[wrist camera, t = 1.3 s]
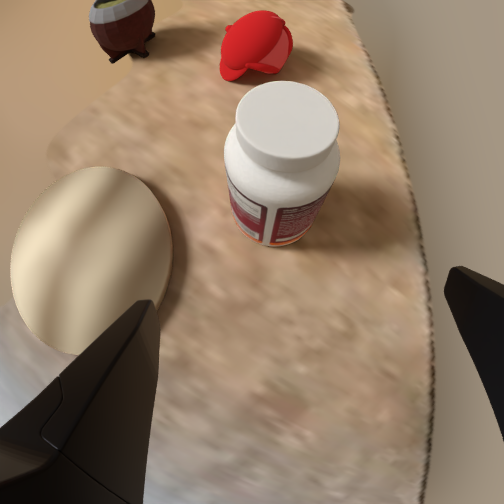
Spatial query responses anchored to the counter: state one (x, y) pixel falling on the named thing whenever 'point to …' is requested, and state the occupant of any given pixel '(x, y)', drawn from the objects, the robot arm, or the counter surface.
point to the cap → (255, 45)
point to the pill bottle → (281, 160)
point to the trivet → (89, 256)
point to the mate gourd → (122, 26)
